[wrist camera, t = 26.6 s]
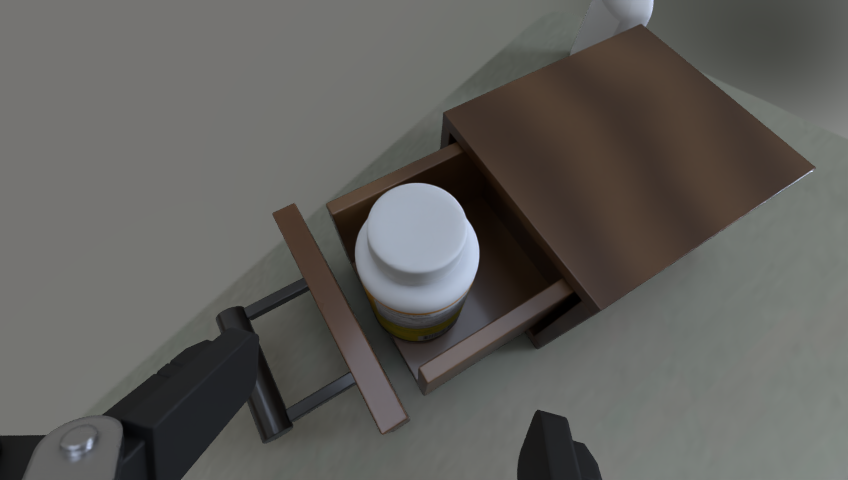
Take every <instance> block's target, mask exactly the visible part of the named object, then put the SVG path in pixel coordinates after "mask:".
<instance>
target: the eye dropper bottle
mask: <svg viewBox="0 0 848 480" xmlns="http://www.w3.org/2000/svg"><path fill="white" fill-rule="evenodd" d="M652 9H653V0H592V1H591V4H590V6H589V8H588V11H587V13H586V15H585V18H584V20H583V23H582V25H581V27H580V30H579V32H578V35H577V37H576V39H575V42H574V44H573V46H572V49H571V52H570V55H572V54H575V53H577V52H579V51H581V50H584V49H586V48H588V47H590V46H592V45H595V44H597V43H599V42H601V41H604V40H606V39H608V38H610V37H612V36H615V35H617V34H619V33H621V32H624V31H626V30H628V29H630V28H633V27H635V26H637V25H639V24H642V25H643V26H646V25H647V23H648V21H649V19H650V17H651V13H652ZM570 55H569V56H570Z"/></svg>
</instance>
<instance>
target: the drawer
mask: <svg viewBox="0 0 848 480" xmlns="http://www.w3.org/2000/svg"><path fill="white" fill-rule="evenodd" d="M409 183H424V184H430V185H433V186H436V187H439V188H441V189H443V190H445V191H446V192H448V193H449V194H451V195H452V196H453V197H454V198H455V199H456V200H457V201H458V203H459V204H460V206H461V207H462V209H463V211H464V213H465V216H466V219H467V220H468V221H469V223H470V224H471V226H472V228H473V230H474V232H475V234H476V237H477V240H478V245H479V264H478V268H477V272H476V275H475V278H474V281H473V283H472V286H471V288H470V291H469V293H468V296H467V298H466V301H465V303H464V305H463V308H462V310H461V313H460V315H459V317H458V319H457V321H456V322H455V324H454V325H453V326H452V327H451V329H450V330H449V331H448V332H446V333H445V334H444V335H442V336H441V337H439V338H437V339H435V340H432V341H428V342H423V343H411V342H406V341H403V340H400V339H398V338H396V337H394V336H392V335H391V334H390V336H391V338H392V339H393V341H394V343H395V345H396V347H397V348H398V350H399V352H400V354H401V356H402V357H403V359H404V361H405V363H406V365H407V367H408V368H409V370H410V372H411V374H412V376H413V377H414V379H415V381H416V383H417V385H418V386H419V388H420V390H421V392H422V394H423V395H426V394H428V393H430V392H431V391H433V390H434V389H436V388H437V387H439V386H441V385H442V384H444V383H445V382H447V381H448V380H450V379H451V378H453V377H455V376H456V375H458V374H459V373H461V372H462V371H464V370H466V369H467V368H469V367H470V366H472V365H473V364H475V363H476V362H478V361H480V360H481V359H483V358H484V357H486V356H487V355H489V354H491V353H492V352H494V351H495V350H497V349H498V348H500V347H501V346H503V345H505V344H506V343H508V342H509V341H511V340H512V339H514V338H516V337H517V336H519V335H520V334H522V333H523V332H525V331H526V330H528V329H530V328H531V327H533V326H534V325H536V324H537V323H539V322H540V321H542V320H544V319H545V318H547V317H548V316H550V315H551V314H553V313H555V312H556V311H558V310H559V309H561V308H562V307H564V306H565V305H567V304H569V303H570V302H571V301H573V300H574V299H575V298H576V297H578V295H577V293H576V292H575V291H574V289H573V288H572V287H571V286H570V284H569V283H568V282H567V281H566V279H565V278H564V277H563V275H562V274H561V273H560V272H559V270H558V269H557V268H556V267H555V265H554V264H553V263H552V261H551V260H550V259H549V258H548V256H547V255H546V254H545V252H544V251H543V250H542V249H541V247H540V246H539V245H538V244H537V242H536V241H535V240H534V238H533V237H532V236H531V235H530V233H529V232H528V231H527V230H526V228H525V227H524V226H523V224H522V223H521V222H520V221H519V219H518V218H517V217H516V216H515V214H514V213H513V212H512V210H511V209H510V208H509V207H508V205H507V204H506V203H505V202H504V200H503V199H502V198H501V196H500V195H499V194H498V193H497V191H496V190H495V189H494V188H493V186H492V185H491V184H490V182H489V181H488V180H487V179H486V177H485V176H484V175H483V173H482V172H481V171H480V170H479V168H478V167H477V166H476V165H475V163H474V162H473V161H472V159H471V158H470V157H469V156H468V154H467V153H466V152H465V151H464V149H463V148H462V147H461V145H460V144H459V143H458V142H455V143H453V144H451V145H449V146H447V147H445V148H443V149H441V150H438V151H436V152H434V153H432V154H430V155H428V156H426V157H424V158H422V159H419V160H417V161H415V162H413V163H411V164H409V165H407V166H405V167H403V168H401V169H398V170H396V171H394V172H392V173H390V174H388V175H386V176H384V177H382V178H379V179H377V180H375V181H373V182H371V183H369V184H367V185H365V186H363V187H360V188H358V189H356V190H354V191H352V192H350V193H348V194H346V195H344V196H341V197H339V198H337V199H335V200H333V201H331V202H329V203H327V204H326V206H327V209H328V211H329V214H330V216H331V219H332V221H333V224H334V226H335V229H336V231H337V233H338V236H339V238H340V241H341V243H342V246H343V248H344V251H345V253H346V256H347V258H348V260H349V262H350V264H351V266H352V267H353V269H354V271H355V273H356V275H357V276H358V278H359V280H360V282H361V279H360V277H359V274H358V271H357V267H356V262H355V246H356V241H357V237H358V234H359V232H360V230H361V228H362V226H363V225H364V223H365V221H366V220H367V219H368V216H369V213H370V211H371V209H372V207H373V205H374V204H375V203H376V201H377V200H378V199H379V198H380V197H381V196H382V195H383V194H385V193H386V192H387V191H389V190H391V189H393V188H395V187H398V186H400V185H404V184H409ZM273 217H274V219H275V221H276V223H277V225H278V227H279V229H280V231H281V233H282V235H283V237H284V239H285V241H286V243H287V245H288V247H289V249H290V251H291V253H292V255H293V257H294V259H295V261H296V263H297V265H298V267H299V269H300V271H301V273H302V275H303V277H304V278H302V279H300V280H298V281H296V282H294V283H292V284H290V285H288V286H286V287H284V288H282V289H281V290H279V291H277V292H275V293H273V294H271V295H269V296H267V297H265V298H263V299H261V300H259V301H257V302H255V303H253V304H251V305H249V306H248V307H246V308H244V307H242V306H236V307H231V308H228V309H226V310H224V311H222V312H221V313H219V314H218V315H217V317H216V321H217V324H218V326H219V329H220V332H221V334H222V333H223V332H224V331H226V330H227V329H228V328H231V327H234V328H237V329H241V330H245V331H248V332H252V333H255V332H254V329H253V327H252V324H251V322H250V320H254V319H255V318H257V317H259V316H261V315H263V314H265V313H267V312H269V311H271V310H273V309H275V308H276V307H278V306H280V305H282V304H284V303H286V302H288V301H290V300H292V299H294V298H296V297H297V296H299V295H301V294H303V293H305V292H307V291H309V290H310V292H311V294H312V296H313V298H314V300H315V302H316V304H317V306H318V308H319V310H320V312H321V314H322V316H323V318H324V320H325V322H326V324H327V326H328V328H329V330H330V332H331V334H332V336H333V338H334V340H335V342H336V344H337V346H338V348H339V350H340V352H341V354H342V356H343V358H344V360H345V362H346V364H347V366H348V368H349V370H350V372H348V373H347V374H345V375H343V376H342V377H340V378H338V379H337V380H335V381H333V382H332V383H330V384H328V385H326V386H325V387H323V388H321V389H320V390H318V391H316V392H315V393H313V394H311V395H310V396H308V397H306V398H305V399H303V400H301V401H299V402H298V403H296V404H294V405H293V406H291V407H289V408H288V409H286V406H285V404H284V402H283V399H282V397H281V394H280V392H279V390H278V387H277V385H276V382H275V380H274V378H273V375H272V373H271V370H270V368H269V365H268V363H267V361H266V358H265V356H264V353H263V351H262V349H261V346H260V344H259V354H258V373H257V381H256V384H255V387H254V389H253V392H252V393H251V395H250V397H249V398H248V400H247V403H248V406H249V408H250V411H251V413H252V416H253V419H254V421H255V424H256V427H257V429H258V432H259V435H260V437H261V440H262V443H263V444H266V443H269V442H271V441H273V440H275V439H277V438H279V437H281V436H282V435H284V434H286V433H287V432H289V431H290V430H291V429H292V428H293V423H292V422H295V421H296V420H298V419H300V418H301V417H303V416H305V415H306V414H308V413H310V412H311V411H313V410H315V409H316V408H318V407H319V406H321V405H323V404H324V403H326V402H328V401H329V400H331V399H333V398H334V397H336V396H338V395H339V394H341V393H343V392H344V391H346V390H348V389H349V388H351V387H353V386H354V385H357V387H358V389H359V391H360V393H361V395H362V397H363V399H364V401H365V403H366V405H367V407H368V409H369V411H370V413H371V415H372V417H373V419H374V421H375V423H376V425H377V427H378V429H379V431H380V433H381V434H382V435H384V434H387V433H390V432H393V431H395V430H396V429H398V428H399V427H401V426H403V425H404V424H406V423H407V422H409V421H410V418H409V416H408V414H407V412H406V411H405V409H404V407H403V405H402V403H401V401H400V399H399V397H398V395H397V394H396V392H395V390H394V388H393V386H392V384H391V382H390V380H389V378H388V377H387V375H386V373H385V371H384V369H383V367H382V365H381V363H380V361H379V360H378V358H377V356H376V354H375V352H374V350H373V348H372V346H371V345H370V343H369V341H368V339H367V337H366V335H365V333H364V331H363V329H362V328H361V326H360V324H359V322H358V320H357V318H356V316H355V314H354V312H353V311H352V309H351V307H350V305H349V303H348V301H347V299H346V297H345V295H344V294H343V292H342V290H341V288H340V286H339V284H338V282H337V280H336V278H335V277H334V275H333V273H332V271H331V269H330V267H329V265H328V263H327V261H326V260H325V258H324V256H323V254H322V252H321V250H320V249H319V247H318V245H317V243H316V241H315V239H314V238H313V236H312V234H311V232H310V230H309V228H308V226H307V225H306V223H305V221H304V219H303V217H302V215H301V214H300V212H299V210H298V208H297V206H296V205H295V204H294V203H293V204H291V205H289V206H287V207H285V208H283V209H280V210H278V211H276V212H274V213H273ZM361 284H362V282H361ZM362 285H363V284H362ZM249 319H250V320H249Z"/></svg>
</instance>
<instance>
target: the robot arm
mask: <svg viewBox="0 0 848 480" xmlns="http://www.w3.org/2000/svg"><path fill="white" fill-rule="evenodd" d="M258 354H259V336H258V335H257V334H256V333H252V332H248V331H245V330H241V329H237V328H234V327H231V328H228V329H227V330H226V331H224V332H223V333H222V334H221V335H220V336H218V337H217V338H216V339H215V340H214V341H209V340H205V341H202V342H200V343H198V344H196V345H193V346H191V347H189V348H186V349H185V350H184V351H183V352H181V353H180V354H179V355H177V356H176V357H175V358H174V359H172V360H171V362H170V364H168V363H167V364H166V365H165V366H164V367H162V368H161V369H160V370H159V371H158V372H157V374H153V375H152V376H151V377H150V378H148V379H147V380H146V381H145V382H143V383H142V384H141V385H140V386H138V387H137V388H136V389H135V390H133V391H132V392H131V393H129V394H128V395H127V396H126V397H124V398H123V399H122V400H121V401H119V402H118V403H117V404H116V405H114V406H113V407H112V408H110V409H109V410H108V411H107V412H105V413H104V414H103V415H97V416H88V417H83V418H79V419H76V420H73V421H70V422H68V423H66V424H64V425H62V426H60V427H58V428H56V429H55V430H53V431H52V432H50V433H49V434H48V435H40V436H39V435H27V436H0V480H181V479H182V477H183V476H184V475H185V474H186V473H187V471H188V470H189V469H190V468H191V467H192V465H193V464H194V463H195V462H196V461H197V460H198V458H199V457H200V456H201V455H202V454H203V452H204V451H205V450H206V449H207V448H208V446H209V445H210V444H211V443H212V442H213V440H214V439H215V438H216V437H217V436H218V434H219V433H220V432H221V431H222V430H223V428H224V427H225V426H226V425H227V424H228V422H229V421H230V420H231V419H232V418H233V416H234V415H235V414H236V413H237V412H238V410H239V409H240V408H241V407H242V406H243V404H244V403H245V402H246V401H247V400H248V398H249V397H250V395H251V393H252V392H253V389H254V387H255V384H256V381H257V373H258ZM517 479H518V480H602V478H601V474H600V471H599V467H598V464H597V462H596V460H595V459H594V458H593V456H592V455H591V453H590V452H589V450H588V449H587V447H586V446H585V444H583V443H580V442H576V441H573V440H572V436H571V432H570V428H569V423H568V420H567V418H566V417H563V416H559V415H555V414H552V413H548V412H544V411H541V410H537V411H536V412H535V414H534V416H533V419H532V422H531V424H530V427H529V430H528V432H527V435H526V438H525V440H524V443H523V446H522V448H521V451H520V455H519V460H518V468H517Z"/></svg>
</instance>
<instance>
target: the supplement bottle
mask: <svg viewBox="0 0 848 480" xmlns="http://www.w3.org/2000/svg"><path fill="white" fill-rule="evenodd" d="M355 262H356V267H357V271H358V274H359V277H360V279H361V282H362V284H363V287H364V290H365V292H366V295H367V297H368V299H369V302H370V304H371V307H372V309H373V312H374V314H375V316H376V319H377V320H378V322H379V323H380V325H381V326H382V327H383V328H384V329H385V330H386V331H387V332H388V333H389V334H391V335H392V336H394V337H396V338H398V339H400V340H403V341H406V342H411V343H423V342H428V341H432V340H435V339H437V338H439V337H441V336H442V335H444V334H445V333H446V332H448V331H449V330H450V329H451V327H452V326H453V325H454V324H455V322H456V321H457V319H458V317H459V315H460V313H461V310H462V308H463V305H464V303H465V301H466V298H467V296H468V293H469V291H470V288H471V286H472V283H473V281H474V278H475V275H476V272H477V268H478V264H479V245H478V240H477V237H476V234H475V232H474V230H473V228H472V226H471V224H470V223H469V221H468V220H467V219H466V216H465V213H464V211H463V209H462V207H461V206H460V204H459V203H458V201H457V200H456V199H455V198H454V197H453V196H452V195H451V194H449V193H448V192H446V191H445V190H443V189H441V188H439V187H436V186H433V185H430V184H424V183H409V184H404V185H400V186H398V187H395V188H393V189H391V190H389V191H387V192H386V193H385V194H383V195H382V196H381V197H380V198H379V199H378V200H377V201H376V203H375V204H374V205H373V207H372V209H371V211H370V213H369V216H368V219H367V220H366V221H365V223H364V225H363V226H362V228H361V230H360V232H359V234H358V237H357V241H356V246H355Z"/></svg>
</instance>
